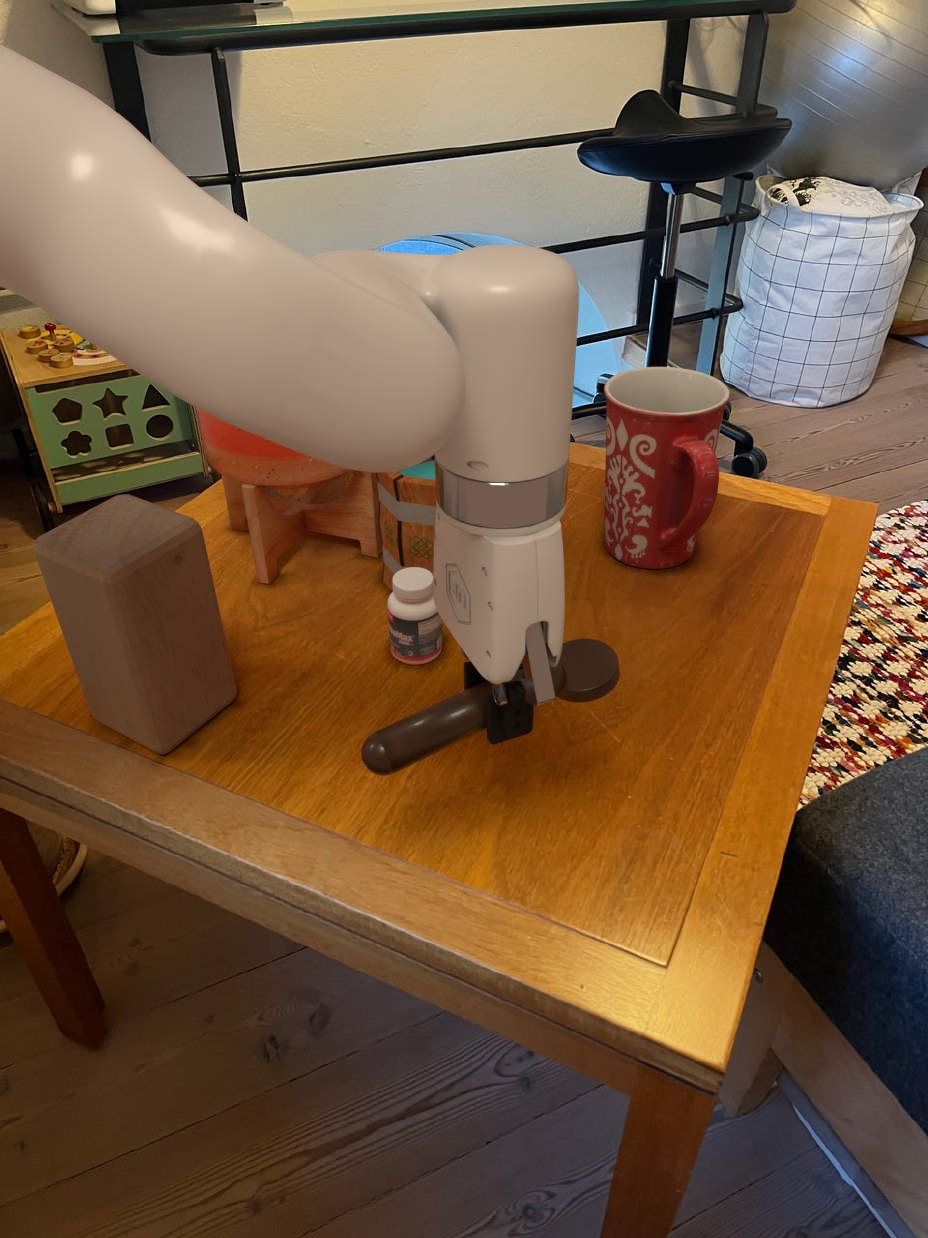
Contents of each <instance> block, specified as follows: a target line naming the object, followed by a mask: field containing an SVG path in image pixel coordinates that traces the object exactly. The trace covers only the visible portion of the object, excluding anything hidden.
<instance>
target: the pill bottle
mask: <svg viewBox="0 0 928 1238" xmlns="http://www.w3.org/2000/svg"><path fill="white" fill-rule="evenodd" d="M392 582H393V592H392V591H391V593H390V594H389V596H388V598H387V603H386V606H387V607H386V608H387V621H388V634H389V648H390V653H391V654H392V656H393V657H394V658H395V659H396V660H397V661H399V662H401V663H403V664H407V665H412V666H413V665H424V664H427V663H431V662H433V660H435V659H437V658H438V656H439V655H440V654H441V652H442V649H443V630H442V629H443V627H442V626H443V620H442V619H441V617H440V615H439V613H438V611H437V609H436V606H435V603H434V578H433V575H432V573H431V572H430V571H428V570H426V569H424V568H420V567H409V568H405V569H402V570H400V571H398V572H397V573H396V574H395V575H394V576H393V580H392Z"/></svg>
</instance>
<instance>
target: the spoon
mask: <svg viewBox="0 0 928 1238" xmlns="http://www.w3.org/2000/svg"><path fill="white" fill-rule="evenodd" d="M619 663H620V662H619V658H618V654H617V652H616V651H615V649H614V648H613V647H612V646H610V645H609V644H608V643H606V642H604V641H601V640H599V639H594V638H587V637H586V638H585V637H584V638H574V639H570V640H568V641H567V640H566V641H565V642H563V646H562V652H561V656H560V660H559V662H558V664H557V665H556V667H554V668H552V667H550V671H551V677H552V682H553V687H554V693H555V698H558V699H559V700H562V701H566V702H568V703H575V704H577V703H578V704H583V703H589V702H594V701H598V700H599V699H602V698H604V697H605V696H607V695H609V694H610V693H611V692H612V691H613V690H614V689H615V687H616V686H617V684H618V683H619V681H620V676H621V669H620V664H619ZM520 679H523V669H520V670H517V672H516V673H515V675H514V677H513V678H512V679H511V681H507V683H510V682H513V681H516V680H520ZM491 694H493V693H492V683H491V682H489V681H488V680H485V681H483V682H481V683H479V684H477V685H475V686H472V687H470V688H468V689H466V690H464V689H463V690H461V691H460V692H458V693H455V694H453V695H451V696H449V697H447V698H445V699H443V700H440V701H438V702H436V703H434V704H432V705H429V706H428V707H425V708H423V709H421V710H419V711H416V712H414V713H412V714H411V715H408V716H406V717H404V718H402V719H399V720H397V721H395V722H393V723H391V724H389V725H386V726H384V727H382V728H379V729H378V730H376V731H374V732H372V733H371V734H369V736H367V737H366V738H365V740H364V742H363V744H362V746H361V751H360V752H361V760H362V763H363V764H364V766H365V767H366V769H367V770H368V771H369V772H371V773H372V774H374V775H377V776H383V777H385V776H391V775H394V774H396V773H398V772H400V771H402V770H404V769H406V768H409V767H411V766H413V765H414V764H415V765H416V764H417V763H419V762H421V761H423V760H425V759H428V758H429V757H431V756H433V755H434V756H435V755H436V754H438V753H440V752H442V751H445V750H446V749H448V748H451V747H453V746H454V745H457V744H459V743H461V742H463V741H466V740H468V739H470V738H471V737H473V736H475V735H478V734H480V733H482V732H484V731H487V696H489V695H491Z"/></svg>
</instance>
